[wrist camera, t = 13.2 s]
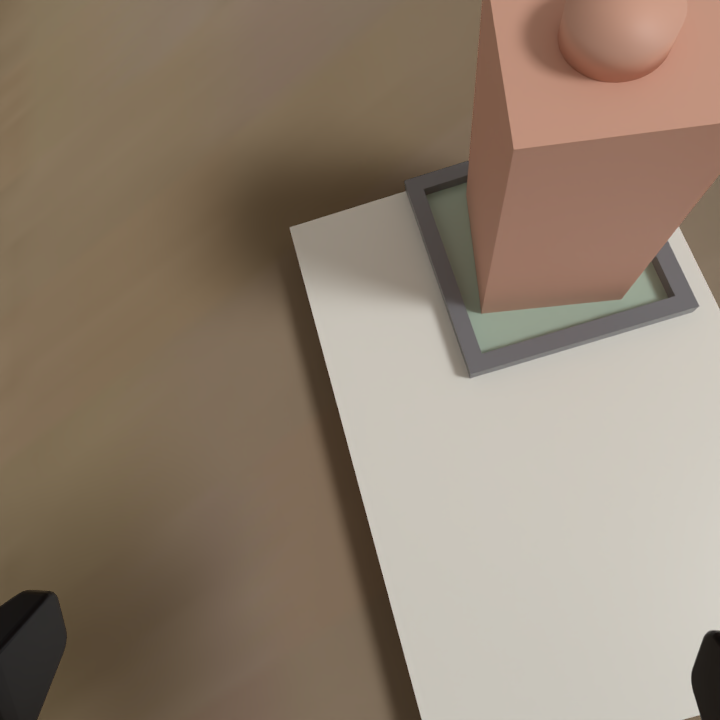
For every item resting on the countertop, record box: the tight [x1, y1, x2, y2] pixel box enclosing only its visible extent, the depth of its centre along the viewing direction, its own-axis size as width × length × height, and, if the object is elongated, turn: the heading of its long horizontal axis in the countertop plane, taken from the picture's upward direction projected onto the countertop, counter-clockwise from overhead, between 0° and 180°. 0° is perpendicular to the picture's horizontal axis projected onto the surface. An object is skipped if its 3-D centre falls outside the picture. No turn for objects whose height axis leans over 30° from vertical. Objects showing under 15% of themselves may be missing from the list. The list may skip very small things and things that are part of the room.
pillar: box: [466, 0, 720, 314], centre depth 18 cm, size 5×5×11 cm
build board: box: [289, 161, 720, 720], centre depth 21 cm, size 20×14×2 cm
